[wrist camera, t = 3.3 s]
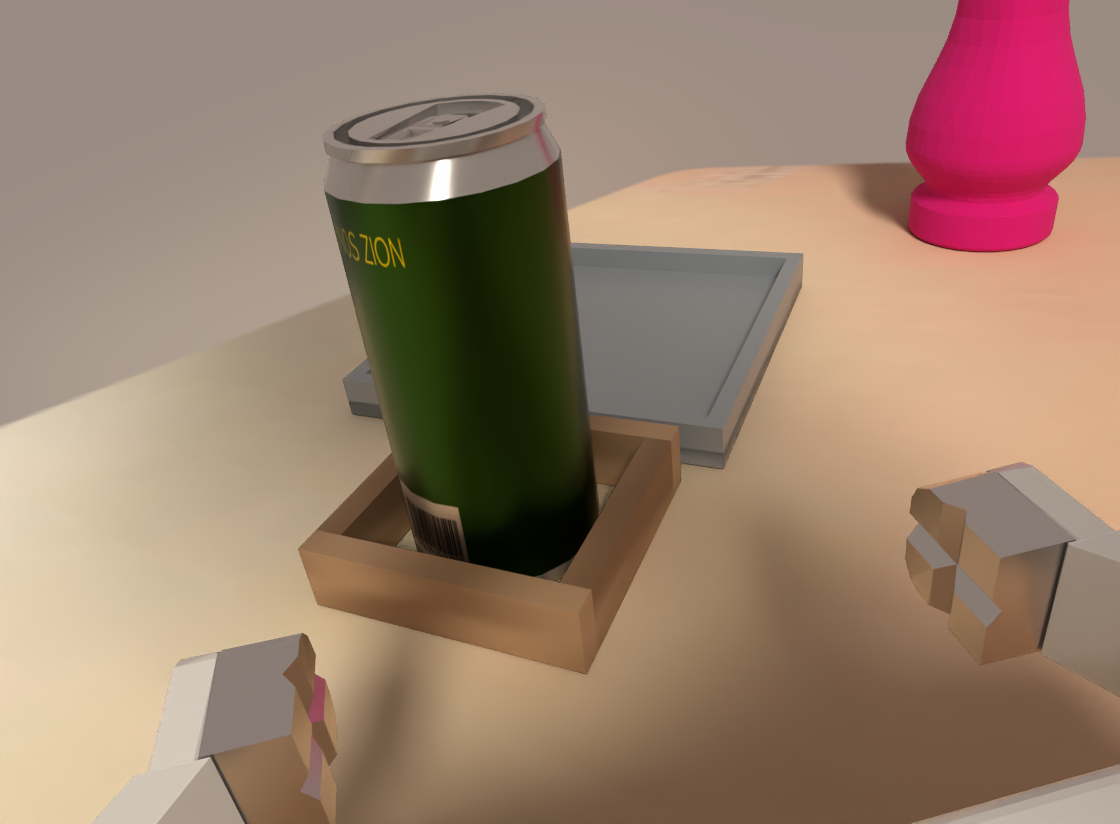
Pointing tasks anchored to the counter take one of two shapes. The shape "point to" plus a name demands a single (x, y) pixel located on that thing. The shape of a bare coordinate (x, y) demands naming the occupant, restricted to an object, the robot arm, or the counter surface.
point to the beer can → (470, 323)
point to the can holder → (491, 594)
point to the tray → (669, 337)
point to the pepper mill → (996, 126)
